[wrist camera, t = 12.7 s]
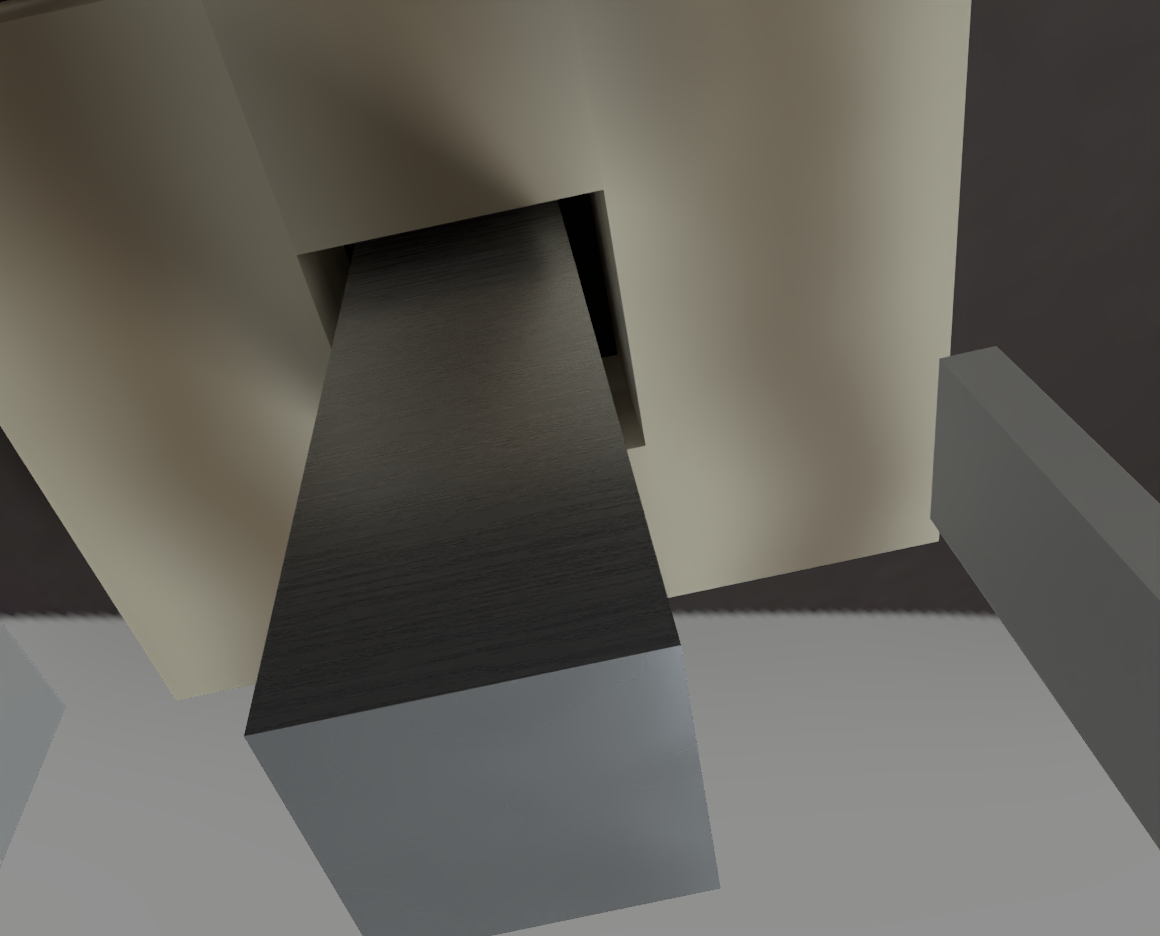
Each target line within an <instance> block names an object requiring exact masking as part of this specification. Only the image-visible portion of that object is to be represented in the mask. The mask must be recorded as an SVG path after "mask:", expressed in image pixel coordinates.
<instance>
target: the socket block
mask: <svg viewBox="0 0 1160 936" xmlns="http://www.w3.org/2000/svg"><path fill="white" fill-rule="evenodd" d="M970 12H971V0H8V1H4V2H0V426H1V428H2V429H3V431H4V432H5V434H6V435H7V437H8V439H9V440H10V442H11V443H12V445H13V446H14V448H15V450H16V451H17V453H18V454H19V456H20V457H21V459H22V460H23V462H24V464H25V465H26V467H27V468H28V470H29V471H30V473H31V475H32V476H33V478H34V479H35V481H36V482H37V484H38V486H39V487H40V489H41V490H42V492H43V493H44V495H45V496H46V498H47V500H48V501H49V503H50V504H51V506H52V507H53V509H54V511H55V512H56V514H57V515H58V517H59V518H60V520H61V522H62V523H63V525H64V526H65V528H66V529H67V531H68V532H69V534H70V536H71V537H72V539H73V540H74V542H75V543H76V545H77V547H78V548H79V550H80V551H81V553H82V554H83V556H84V558H85V559H86V561H87V562H88V564H89V565H90V567H91V568H92V570H93V572H94V573H95V575H96V576H97V578H98V579H99V581H100V583H101V584H102V586H103V587H104V589H105V590H106V592H107V594H108V595H109V597H110V598H111V600H112V601H113V603H114V604H115V606H116V608H117V609H118V611H119V612H120V614H121V615H122V617H123V619H124V620H125V622H126V623H127V625H128V626H129V628H130V629H131V631H132V633H133V634H134V635H135V637H136V639H137V640H138V642H139V644H140V645H141V647H142V648H143V650H144V651H145V653H146V655H147V656H148V657H149V659H150V661H151V662H152V664H153V665H154V667H155V669H156V670H157V672H158V673H159V675H160V676H161V678H162V680H163V681H164V683H165V684H166V686H167V687H168V689H169V691H170V692H171V693H172V695H173V697H174V698H175V700H176V701H177V700H182V699H187V698H192V697H197V696H201V695H206V694H210V693H215V692H221V691H225V690H230V689H235V688H240V687H244V686H249V685H254V684H256V681H257V677H258V672H259V668H260V663H261V659H262V655H263V650H264V646H265V641H266V637H267V632H268V628H269V624H270V619H271V615H272V610H273V606H274V601H275V597H276V593H277V588H278V584H279V579H280V575H281V570H282V566H283V562H284V557H285V553H286V548H287V544H288V539H289V535H290V531H291V526H292V522H293V517H294V513H295V508H296V504H297V499H298V495H299V491H300V486H301V482H302V477H303V473H304V468H305V464H306V460H307V455H308V451H309V446H310V442H311V437H312V433H313V429H314V424H315V420H316V415H317V411H318V406H319V402H320V398H321V393H322V389H323V384H324V380H325V375H326V371H327V367H328V362H329V358H330V353H331V349H332V344H333V340H334V336H335V331H336V327H337V322H338V318H339V313H340V309H341V305H342V300H343V296H344V291H345V287H346V282H347V278H348V274H349V269H350V262H349V259H348V256H347V253H346V250H345V247H344V245H347V244H351V243H356V242H361V241H365V240H370V239H375V238H380V237H384V236H389V235H394V234H398V233H403V232H408V231H412V230H417V229H422V228H426V227H431V226H436V225H440V224H445V223H450V222H455V221H459V220H464V219H469V218H473V217H478V216H483V215H487V214H492V213H497V212H501V211H506V210H511V209H515V208H520V207H525V206H530V205H534V204H539V203H544V202H548V201H553V200H558V199H562V198H567V197H572V196H576V195H581V194H586V193H590V199H591V205H592V211H593V217H594V222H595V228H596V234H597V240H598V245H599V251H600V257H601V263H602V268H603V274H604V280H605V286H606V291H607V297H608V303H609V309H610V315H611V320H612V326H613V332H614V338H615V343H616V349H617V355H613V356H608V357H603V358H601V359H602V362H603V366H604V370H605V373H606V377H607V380H608V384H609V388H610V391H611V395H612V398H613V402H614V406H615V409H616V413H617V416H618V420H619V424H620V427H621V431H622V435H623V438H624V442H625V445H626V449H627V453H628V456H629V460H630V463H631V467H632V471H633V474H634V478H635V481H636V485H637V489H638V492H639V496H640V499H641V503H642V507H643V510H644V514H645V518H646V521H647V525H648V528H649V532H650V536H651V539H652V543H653V546H654V550H655V554H656V557H657V561H658V564H659V568H660V572H661V575H662V579H663V582H664V586H665V590H666V593H667V597H668V598H670V597H674V596H679V595H684V594H689V593H693V592H698V591H703V590H708V589H713V588H717V587H722V586H727V585H732V584H736V583H741V582H746V581H751V580H756V579H760V578H765V577H770V576H775V575H779V574H784V573H789V572H794V571H798V570H803V569H808V568H813V567H818V566H822V565H827V564H832V563H837V562H841V561H846V560H851V559H856V558H861V557H865V556H870V555H875V554H880V553H884V552H889V551H894V550H899V549H904V548H908V547H913V546H918V545H923V544H927V543H932V542H937V541H939V531H938V529H937V528H936V526H935V525H934V523H933V522H932V521H931V519H930V511H931V494H932V477H933V460H934V443H935V426H936V409H937V392H938V375H939V359H940V358H944V357H949V356H950V345H951V328H952V312H953V295H954V278H955V262H956V245H957V228H958V212H959V195H960V178H961V162H962V145H963V128H964V112H965V95H966V78H967V62H968V45H969V28H970Z"/></svg>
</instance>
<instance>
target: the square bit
mask: <svg viewBox="0 0 1160 936" xmlns="http://www.w3.org/2000/svg"><path fill="white" fill-rule="evenodd" d="M244 737H245V739H246V741H247V742H248V744H249V746H250V747H251V749H252V751H253V752H254V754H255V755H256V757H257V759H258V761H259V762H260V764H261V766H262V767H263V769H264V771H265V772H266V774H267V776H268V777H269V779H270V781H271V782H272V784H273V786H274V788H275V789H276V791H277V792H278V794H279V796H280V797H281V799H282V801H283V803H284V804H285V806H286V808H287V809H288V811H289V812H290V814H291V816H292V817H293V819H294V821H295V823H296V824H297V826H298V828H299V830H300V831H301V833H302V834H303V836H304V838H305V840H306V841H307V843H308V845H309V846H310V848H311V850H312V851H313V853H314V855H315V856H316V858H317V860H318V861H319V863H320V865H321V866H322V868H323V870H324V872H325V873H326V875H327V876H328V878H329V880H330V882H331V883H332V885H333V886H334V888H335V890H336V892H337V893H338V895H339V897H340V898H341V900H342V902H343V903H344V905H345V907H346V908H347V910H348V912H349V913H350V915H351V917H352V918H353V920H354V922H355V924H356V925H357V927H358V929H359V930H360V932H361V934H362V935H363V936H492V935H497V934H501V933H507V932H511V931H516V930H521V929H526V928H531V927H536V926H540V925H545V924H550V923H555V922H560V921H565V920H570V919H574V918H579V917H584V916H589V915H594V914H599V913H603V912H608V911H613V910H618V909H623V908H627V907H632V906H637V905H642V904H647V903H652V902H657V901H662V900H666V899H671V898H676V897H681V896H686V895H691V894H695V893H700V892H705V891H710V890H714V889H720V883H719V877H718V871H717V865H716V859H715V854H714V853H715V852H714V846H713V840H712V834H711V829H710V822H709V816H708V810H707V803H706V797H705V791H704V785H703V779H702V772H701V767H700V760H699V754H698V748H697V741H696V735H695V729H694V723H693V717H692V711H691V704H690V699H689V693H688V686H687V680H686V674H685V668H684V661H683V655H682V649H681V644H680V640H679V637H678V633H677V629H676V626H675V622H674V619H673V615H672V611H671V608H670V604H669V600H668V597H667V593H666V590H665V586H664V582H663V579H662V575H661V572H660V568H659V564H658V561H657V557H656V554H655V550H654V546H653V543H652V539H651V536H650V532H649V528H648V525H647V521H646V518H645V514H644V510H643V507H642V503H641V499H640V496H639V492H638V489H637V485H636V481H635V478H634V474H633V471H632V467H631V463H630V460H629V456H628V453H627V449H626V445H625V442H624V438H623V435H622V431H621V427H620V424H619V420H618V416H617V413H616V409H615V406H614V402H613V398H612V395H611V391H610V388H609V384H608V380H607V377H606V373H605V370H604V366H603V362H602V359H601V355H600V352H599V348H598V344H597V341H596V337H595V334H594V330H593V326H592V323H591V319H590V315H589V312H588V308H587V305H586V301H585V297H584V294H583V290H582V287H581V283H580V279H579V276H578V272H577V269H576V265H575V261H574V258H573V254H572V251H571V247H570V243H569V240H568V236H567V233H566V229H565V225H564V222H563V218H562V214H561V211H560V207H559V204H558V200H553V201H548V202H544V203H539V204H534V205H530V206H525V207H520V208H515V209H511V210H506V211H501V212H497V213H492V214H487V215H483V216H478V217H473V218H469V219H464V220H459V221H455V222H450V223H445V224H440V225H436V226H431V227H426V228H422V229H417V230H412V231H408V232H403V233H398V234H394V235H389V236H384V237H380V238H375V239H370V240H365V241H361V242H356V243H355V247H354V251H353V256H352V260H351V265H350V269H349V274H348V278H347V282H346V287H345V291H344V296H343V300H342V305H341V309H340V313H339V318H338V322H337V327H336V331H335V336H334V340H333V344H332V349H331V353H330V358H329V362H328V367H327V371H326V375H325V380H324V384H323V389H322V393H321V398H320V402H319V406H318V411H317V415H316V420H315V424H314V429H313V433H312V437H311V442H310V446H309V451H308V455H307V460H306V464H305V468H304V473H303V477H302V482H301V486H300V491H299V495H298V499H297V504H296V508H295V513H294V517H293V522H292V526H291V531H290V535H289V539H288V544H287V548H286V553H285V557H284V562H283V566H282V570H281V575H280V579H279V584H278V588H277V593H276V597H275V601H274V606H273V610H272V615H271V619H270V624H269V628H268V632H267V637H266V641H265V646H264V650H263V655H262V659H261V663H260V668H259V672H258V677H257V681H256V686H255V690H254V694H253V699H252V703H251V708H250V713H249V717H248V721H247V726H246V730H245V735H244Z"/></svg>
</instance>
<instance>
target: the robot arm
mask: <svg viewBox="0 0 1160 936" xmlns="http://www.w3.org/2000/svg"><path fill="white" fill-rule="evenodd" d="M930 519H931V521H932V522H933V523H934V525H935V526H936V528H937V529H938V531H939V532H940V534H941V535H942V536H943V538H944V539H945V541H946V542H947V544H948V545H949V546H950V548H951V549H952V551H953V552H954V554H955V555H956V557H957V558H958V559H959V561H960V562H961V564H962V565H963V567H964V568H965V570H966V571H967V572H968V574H969V575H970V577H971V578H972V580H973V581H974V583H975V584H976V585H977V587H978V588H979V590H980V591H981V593H982V594H983V596H984V597H985V598H986V600H987V601H988V603H989V604H990V606H991V607H992V608H993V610H994V611H995V613H996V614H997V616H998V617H999V619H1000V620H1001V621H1002V623H1003V624H1004V626H1005V627H1006V629H1007V630H1008V632H1009V633H1010V634H1011V636H1012V637H1013V639H1014V640H1015V642H1016V643H1017V644H1018V646H1019V647H1020V649H1021V650H1022V652H1023V653H1024V655H1025V656H1026V657H1027V659H1028V660H1029V662H1030V663H1031V665H1032V666H1033V668H1034V669H1035V670H1036V672H1037V673H1038V675H1039V676H1040V678H1041V679H1042V681H1043V682H1044V683H1045V685H1046V686H1047V688H1048V689H1049V691H1050V692H1051V694H1052V695H1053V696H1054V698H1055V699H1056V701H1057V702H1058V704H1059V705H1060V707H1061V708H1062V709H1063V711H1064V712H1065V714H1066V715H1067V717H1068V718H1069V719H1070V721H1071V722H1072V724H1073V725H1074V727H1075V728H1076V730H1077V731H1078V733H1079V734H1080V735H1081V737H1082V738H1083V740H1084V741H1085V743H1086V744H1087V745H1088V747H1089V748H1090V750H1091V751H1092V752H1093V754H1094V756H1095V757H1096V758H1097V760H1098V761H1099V763H1100V764H1101V765H1102V767H1103V768H1104V770H1105V771H1106V773H1107V774H1108V775H1109V777H1110V779H1111V780H1112V781H1113V783H1114V784H1115V786H1116V787H1117V789H1118V790H1119V792H1120V793H1121V795H1122V796H1123V797H1124V799H1125V800H1126V802H1127V803H1128V804H1129V806H1130V807H1131V809H1132V810H1133V812H1134V813H1135V815H1136V816H1137V818H1138V819H1139V820H1140V822H1141V823H1142V825H1143V826H1144V828H1145V829H1146V831H1147V832H1148V833H1149V835H1150V836H1151V838H1152V839H1153V841H1154V842H1155V844H1156V845H1157V846H1158V848H1159V849H1160V504H1159V503H1158V502H1157V501H1156V500H1155V499H1154V498H1153V497H1152V496H1151V495H1150V494H1149V493H1148V492H1147V491H1146V490H1145V489H1144V488H1143V487H1142V486H1141V485H1140V484H1139V483H1138V482H1137V481H1136V480H1135V479H1134V478H1133V477H1131V476H1130V475H1129V474H1128V473H1127V472H1126V471H1125V470H1124V469H1123V468H1122V467H1121V466H1120V465H1119V464H1118V463H1117V462H1116V461H1115V460H1114V459H1113V458H1112V457H1111V456H1110V455H1109V454H1108V453H1107V452H1106V451H1105V450H1104V449H1102V448H1101V447H1100V446H1099V445H1098V444H1097V443H1096V442H1095V441H1094V440H1093V439H1092V438H1091V437H1090V436H1089V435H1088V434H1087V433H1086V432H1085V431H1084V430H1083V429H1082V428H1081V427H1080V426H1079V425H1078V424H1077V423H1076V422H1074V421H1073V420H1072V419H1071V418H1070V417H1069V416H1068V415H1067V414H1066V413H1065V412H1064V411H1063V410H1062V409H1061V408H1060V407H1059V406H1058V405H1057V404H1056V403H1055V402H1054V401H1053V400H1052V399H1051V398H1050V397H1049V396H1048V395H1047V394H1045V393H1044V392H1043V391H1042V390H1041V389H1040V388H1039V387H1038V386H1037V385H1036V384H1035V383H1034V382H1033V381H1032V380H1031V379H1030V378H1029V377H1028V376H1027V375H1026V374H1025V373H1024V372H1023V371H1022V370H1021V369H1020V368H1019V367H1017V366H1016V365H1015V364H1014V363H1013V362H1012V361H1011V360H1010V359H1009V358H1008V357H1007V356H1006V355H1005V354H1004V353H1003V352H1002V351H1001V350H1000V349H999V348H998V347H997V346H995V347H990V348H986V349H981V350H977V351H972V352H967V353H963V354H958V355H954V356H949V357H944V358H940V359H939V375H938V392H937V409H936V426H935V443H934V460H933V477H932V494H931V511H930ZM64 710H65V705H64V704H63V702H62V701H61V700H60V698H59V697H58V696H57V694H56V693H55V692H54V691H53V689H52V688H51V687H50V685H49V684H48V683H47V681H46V680H45V679H44V677H43V676H42V675H41V673H40V672H39V671H38V669H37V668H36V667H35V666H34V664H33V663H32V662H31V660H30V659H29V658H28V657H27V655H26V654H25V652H24V651H23V650H22V649H21V647H20V646H19V645H18V643H17V642H16V641H15V639H14V638H13V637H12V635H11V634H10V633H9V632H8V630H7V629H6V627H5V626H4V625H3V624H2V622H1V621H0V866H1V864H2V861H3V859H4V857H5V854H6V852H7V849H8V847H9V844H10V842H11V839H12V837H13V834H14V832H15V830H16V827H17V825H18V822H19V820H20V817H21V815H22V812H23V810H24V808H25V805H26V802H27V800H28V798H29V795H30V793H31V790H32V788H33V786H34V783H35V780H36V778H37V776H38V773H39V771H40V768H41V766H42V764H43V761H44V759H45V756H46V754H47V751H48V749H49V746H50V744H51V742H52V739H53V737H54V734H55V732H56V729H57V727H58V724H59V722H60V720H61V717H62V715H63V712H64Z"/></svg>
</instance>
